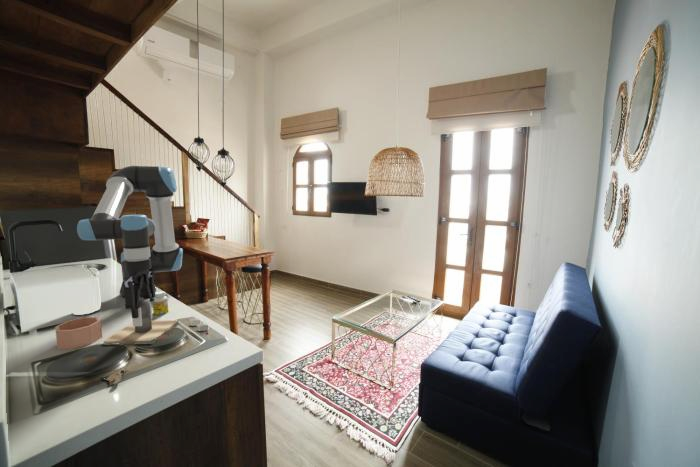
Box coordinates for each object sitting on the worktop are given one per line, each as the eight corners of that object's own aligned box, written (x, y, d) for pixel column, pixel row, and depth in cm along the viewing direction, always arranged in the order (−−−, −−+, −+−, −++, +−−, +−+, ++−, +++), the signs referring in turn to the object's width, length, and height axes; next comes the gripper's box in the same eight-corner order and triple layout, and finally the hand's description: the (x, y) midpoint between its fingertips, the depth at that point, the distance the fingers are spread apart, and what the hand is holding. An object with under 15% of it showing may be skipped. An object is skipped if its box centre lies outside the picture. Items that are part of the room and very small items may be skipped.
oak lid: (136, 323, 115) (133, 293, 113) (178, 322, 115) (176, 293, 114) (103, 343, 99) (100, 309, 97) (152, 343, 99) (150, 309, 98)
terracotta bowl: (78, 335, 107) (76, 316, 106) (109, 335, 107) (108, 316, 106) (48, 351, 96) (45, 331, 95) (83, 351, 96) (81, 330, 95)
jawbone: (88, 388, 79) (87, 380, 79) (153, 350, 99) (152, 344, 99) (115, 390, 78) (114, 382, 77) (176, 351, 97) (175, 345, 97)
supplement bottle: (171, 312, 128) (169, 290, 127) (162, 317, 123) (161, 295, 122) (159, 311, 128) (157, 290, 127) (150, 316, 123) (148, 294, 122)
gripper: (143, 253, 112) (148, 312, 115) (106, 265, 94) (113, 334, 97) (163, 253, 112) (168, 312, 115) (130, 265, 95) (136, 334, 98)
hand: (143, 322), depth 106 cm, fingers closed on oak lid, 5 cm apart
